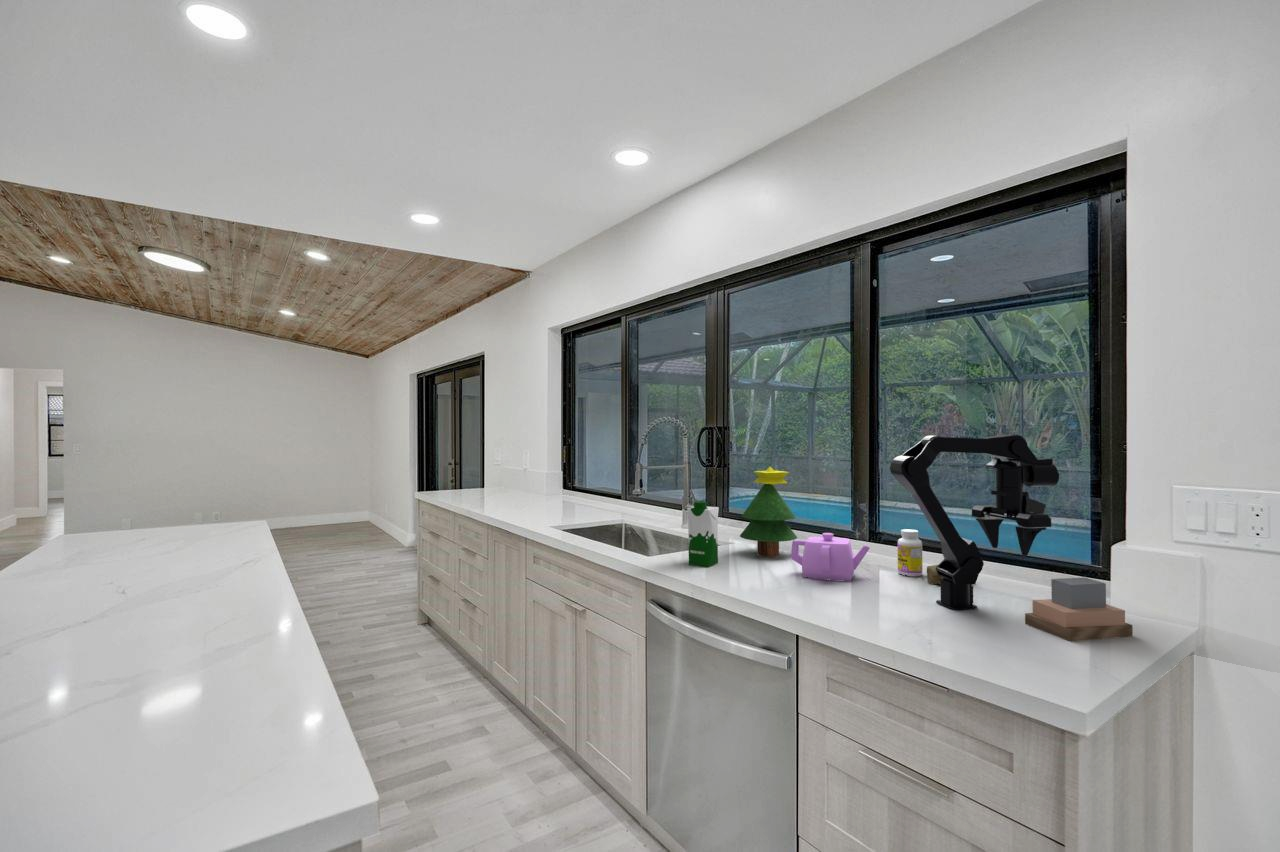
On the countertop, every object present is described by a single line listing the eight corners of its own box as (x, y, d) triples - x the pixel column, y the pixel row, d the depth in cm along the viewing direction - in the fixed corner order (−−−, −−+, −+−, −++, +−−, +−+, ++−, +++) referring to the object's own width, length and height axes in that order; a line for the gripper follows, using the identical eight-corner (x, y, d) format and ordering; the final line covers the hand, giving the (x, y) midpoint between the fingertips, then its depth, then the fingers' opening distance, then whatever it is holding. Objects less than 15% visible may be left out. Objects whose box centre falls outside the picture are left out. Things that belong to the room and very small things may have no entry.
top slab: (1065, 627, 121) (1065, 612, 121) (1032, 613, 130) (1032, 599, 130) (1125, 625, 122) (1124, 610, 122) (1088, 611, 131) (1088, 598, 131)
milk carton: (684, 565, 189) (684, 501, 189) (697, 559, 197) (697, 498, 197) (709, 568, 184) (709, 503, 184) (722, 562, 192) (721, 500, 192)
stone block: (971, 583, 165) (971, 565, 165) (942, 588, 161) (942, 569, 161) (953, 578, 171) (952, 560, 171) (924, 583, 166) (924, 565, 166)
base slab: (1070, 645, 119) (1069, 629, 119) (1025, 627, 130) (1025, 613, 130) (1132, 639, 122) (1132, 624, 122) (1083, 622, 133) (1083, 609, 133)
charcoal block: (1071, 609, 123) (1070, 585, 123) (1051, 602, 128) (1051, 578, 128) (1106, 607, 124) (1105, 583, 124) (1085, 600, 129) (1085, 577, 129)
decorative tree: (730, 551, 210) (729, 465, 211) (778, 547, 216) (777, 464, 216) (756, 562, 192) (756, 469, 192) (808, 558, 198) (808, 467, 198)
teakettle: (786, 572, 179) (786, 531, 179) (831, 566, 186) (830, 527, 186) (825, 585, 163) (825, 540, 163) (872, 579, 170) (872, 535, 170)
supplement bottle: (893, 571, 178) (892, 528, 178) (914, 571, 179) (914, 528, 179) (905, 577, 172) (904, 532, 172) (927, 576, 172) (926, 532, 172)
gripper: (1072, 489, 136) (1072, 558, 136) (1008, 482, 155) (1008, 543, 155) (1029, 490, 134) (1029, 560, 134) (970, 483, 153) (970, 544, 153)
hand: (1009, 551), depth 144 cm, fingers open, 9 cm apart
